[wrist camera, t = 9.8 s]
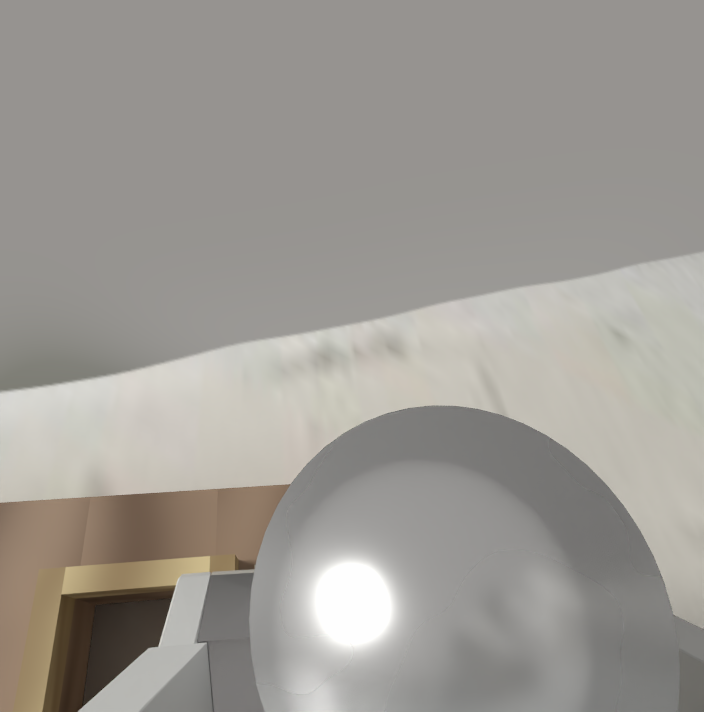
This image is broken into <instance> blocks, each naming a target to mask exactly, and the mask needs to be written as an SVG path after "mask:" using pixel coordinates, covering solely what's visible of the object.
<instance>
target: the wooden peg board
mask: <svg viewBox="0 0 704 712" xmlns="http://www.w3.org/2000/svg"><path fill="white" fill-rule="evenodd" d="M290 485H291V484H289V485H273V486H258V487H242V488H226V489H210V490H195V491H179V492H163V493H148V494H132V495H116V496H101V497H85V498H69V499H54V500H38V501H22V502H7V503H0V712H78V711H79V710H80V709H81V708H82V704H83V696H84V689H85V681H86V674H87V666H88V659H89V651H90V643H91V636H92V628H93V621H94V613H95V606H96V605H99V604H110V603H122V602H134V601H146V600H158V599H169V598H173V594H174V591H175V587H176V584H177V580H178V579H179V577H180V576H181V575H182V574H189V573H202V572H211V573H212V572H216V571H234V570H252V569H255V566H256V560H257V556H258V553H259V550H260V547H261V544H262V541H263V538H264V535H265V531H266V529H267V527H268V525H269V523H270V520H271V518H272V516H273V514H274V512H275V510H276V507H277V505H278V504H279V502H280V501H281V499H282V497H283V496H284V494H285V493H286V491H287V489H288V488H289V486H290Z"/></svg>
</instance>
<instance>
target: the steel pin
mask: <svg viewBox="0 0 704 712" xmlns="http://www.w3.org/2000/svg"><path fill="white" fill-rule="evenodd" d="M249 626H250V644H251V656H252V662H253V667H254V673H255V679H256V684H257V689H258V692H259V695H260V699H261V702H262V705H263V708H264V712H677V711H678V703H679V686H680V665H679V649H678V639H677V634H676V628H675V622H674V617H673V611H672V608H671V605H670V601H669V598H668V594H667V591H666V587H665V584H664V581H663V579H662V576H661V574H660V571H659V569H658V566H657V564H656V561H655V559H654V556H653V554H652V552H651V550H650V548H649V547H648V545H647V543H646V541H645V539H644V537H643V535H642V533H641V531H640V530H639V528H638V527H637V525H636V524H635V522H634V520H633V519H632V517H631V516H630V514H629V513H628V511H627V510H626V508H625V507H624V505H623V504H622V503H621V502H620V501H619V499H618V498H617V497H616V496H615V494H614V493H613V492H612V491H611V490H610V488H609V487H608V486H607V485H606V484H605V483H604V482H603V481H602V480H601V479H600V478H599V477H598V476H597V475H596V474H595V473H594V472H593V471H592V470H591V469H590V468H589V467H588V466H587V465H586V464H585V463H584V462H582V461H581V460H580V459H579V458H578V457H576V456H575V455H574V454H573V453H571V452H570V451H569V450H568V449H566V448H565V447H563V446H562V445H560V444H559V443H557V442H556V441H554V440H553V439H551V438H550V437H548V436H546V435H545V434H543V433H541V432H539V431H537V430H535V429H533V428H531V427H529V426H527V425H525V424H523V423H521V422H518V421H515V420H513V419H510V418H507V417H505V416H502V415H499V414H495V413H491V412H487V411H483V410H479V409H473V408H466V407H459V406H424V407H415V408H408V409H403V410H399V411H395V412H391V413H387V414H384V415H382V416H379V417H376V418H374V419H371V420H368V421H366V422H364V423H362V424H360V425H358V426H356V427H354V428H353V429H351V430H349V431H347V432H345V433H344V434H342V435H341V436H340V437H338V438H337V439H335V440H334V441H333V442H331V443H330V444H328V445H327V446H326V447H325V448H323V449H322V450H321V451H320V452H319V453H318V454H317V455H316V456H315V457H314V458H313V459H312V460H311V461H310V462H309V463H307V465H306V466H305V467H304V468H303V470H302V471H301V472H300V473H299V474H298V476H297V477H296V478H295V479H294V481H293V482H292V483H291V485H290V486H289V488H288V489H287V491H286V493H285V494H284V496H283V497H282V499H281V501H280V502H279V504H278V505H277V507H276V510H275V512H274V514H273V516H272V518H271V520H270V523H269V525H268V527H267V529H266V531H265V535H264V538H263V541H262V544H261V547H260V550H259V553H258V556H257V560H256V566H255V571H254V576H253V582H252V587H251V600H250V615H249Z"/></svg>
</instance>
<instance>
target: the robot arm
mask: <svg viewBox="0 0 704 712" xmlns="http://www.w3.org/2000/svg"><path fill="white" fill-rule="evenodd" d="M254 571H255V569H252V570H234V571H216V572H212V573H211V572H202V573H189V574H182V575H181V576H180V577H179V579H178V580H177V584H176V587H175V591H174V594H173V598H172V601H171V604H170V608H169V611H168V615H167V618H166V622H165V625H164V629H163V632H162V636H161V639H160V643H159V646H158V647H152V648H148V649H147V650H146V651H145V652H144V653H142V654H141V655H140V656H139V657H138V658H137V659H136V660H135V661H134V662H132V663H131V664H130V665H129V666H128V667H127V668H126V669H125V670H123V671H122V672H121V673H120V674H119V675H118V676H117V677H116V678H115V679H113V680H112V681H111V682H110V683H109V684H108V685H107V686H106V687H105V688H103V689H102V690H101V691H100V692H99V693H98V694H97V695H96V696H94V697H93V698H92V699H91V700H90V701H89V702H88V703H87V704H86V705H84V706H83V707H82V708H81V709H80V710H79V711H78V712H264V708H263V705H262V702H261V699H260V695H259V692H258V689H257V684H256V679H255V673H254V667H253V662H252V656H251V644H250V626H249V615H250V600H251V587H252V582H253V576H254ZM673 617H674V622H675V628H676V634H677V639H678V649H679V665H680V686H679V703H678V711H677V712H704V629H702V628H699V627H697V626H695V625H693V624H691V623H689V622H687V621H685V620H683V619H681V618H679V617H677V616H674V615H673Z"/></svg>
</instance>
